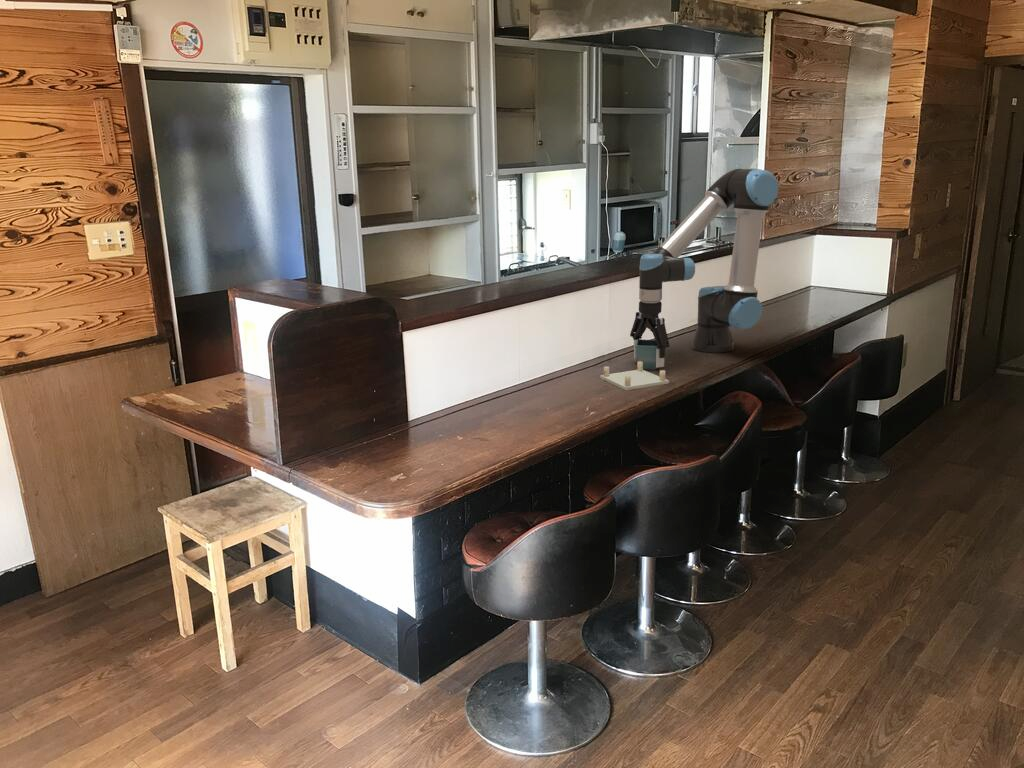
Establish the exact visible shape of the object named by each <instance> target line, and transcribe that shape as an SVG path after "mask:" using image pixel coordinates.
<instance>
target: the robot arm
mask: <svg viewBox="0 0 1024 768" xmlns="http://www.w3.org/2000/svg"><path fill="white" fill-rule="evenodd" d="M778 195H779V183H778V180H777V178H776V177H775V174H773V173H772V172H771V171H770V170H765V169H760V168H757V169H753V168H752V169H751V168H735V169H732V170H729V171H727V172H726V173H725V174H723V175H722V176H720V177H719V178H718V179H717V180H715V182H713V184H712V185H710V187H709V188H708V189H706V190H705V193H704V198H703V199H702V200H701V201H700V202H699V203H698V204H697V205H696V206H695V207H694V208H693V209H692V211H691V212H690V213H689V214H687V216H686V217H685V218H684V219H683V220H682V222H680V224H679V225H678V226H677V227H676V228H674V230H673V231H672V232H671V233H670V234H669V235H668V236H667V238H665V240H664V241H663V242H662V243H661V244H660V245H659V246H658V247H657V249H656V250H655V251H654V252H648V253H645V254H642V255H641V257H640V261H639V268H638V269H639V286H638V287H639V292H638V294H639V297H638V299H639V302H638V311H637V312H635V318H634V320H633V321H634V322H633V324H632V327H631V330H630V333H629V336H630V337H632V339H633V358H634V360H635V359H636V360H637V356H636V342H637V340H643V339H642V338H643V335H644V333H645V332H646V331H647V330H646V329H648V330H649V331H650V332H651V333H652V335H653V337H654V340H656V343H657V345H658V347H657V350H656V367H657V368H663V367H665V356H666V349H667V348H670V341H669V337H668V334H667V330H666V324H665V321H666V319H665V318H664V317H660V318H659V315H660V314H661V312H662V305H663V304H662V303H663V302H661V301H662V300H663V283H666V282H667V283H670V282H678V281H679V282H680V281H682V282H685V281H689V280H692V279H693V278H694V276H695V275H696V264H695V262H694V261H693V259H692V258H690V257H680V256H681V255H682V254H683V253H684V252H685V251H686V250H687V249H688V247H689V246H690V245H691V244H692V243H693V242H694V241H695V240H696V239H697V238H698V237H699V236H700V234H701V233H703V231H705V229H706V228H707V227H708V226H709V225H710V224H711V222H712V221H714V220H715V218H716V217H718V215H719V214H720V213H721V212H726V211H727V209H729V207H731V206H733V210H734V212H735V213H736V221H735V222H736V223H735V230H734V239H733V246H732V247H733V248H732V253H731V262H730V263H731V264H730V271H729V279H728V284H727V285H714V286H705V287H701V288H700V289H699V290H698V296H697V301H698V302H697V327H696V329H695V333H694V336H693V339H692V340H691V349H692V350H694V351H698V352H703V353H714V354H715V353H726V352H727V353H728V352H731V351H733V350H734V348H735V347H734V345H735V343H734V339H733V336H732V331H731V327H732V329H733V328H734V329H740V330H747V329H751V327H753V326H755V325H756V324H757V323H758V321H759V320H760V319H761V316H762V314H763V305H762V303H761V301H760V300H759V299H758V293H759V291H758V289H757V288H756V286H755V280H756V273H757V266H758V259H759V258H758V257H759V251H760V250H759V249H760V243H761V236H762V235H761V234H762V229H763V228H762V226H763V219H764V216H765V215H766V214H767V213H769V210H770V205H771V204H773V203H774V202H775V200H776V199H777V197H778Z"/></svg>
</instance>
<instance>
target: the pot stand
mask: <svg viewBox="0 0 1024 768" xmlns="http://www.w3.org/2000/svg"><path fill="white" fill-rule="evenodd" d="M636 363H637V364H636V365H637V366H636V367H637V368H636V369H635V370H628V371H627V370H626V371H621V372H614V373H610V366H608V365H607V366H605V365H604V366H603V374H601V375H599V379H601V380H603V381H605V382H607V383H609V384H611V385H613V386H616V387H617V388H620V389H621V390H625V391H631V390H638V389H644V388H650V387H656V386H657V387H658V386H663V385H667V384H669V383H670V380H668V379H667V378H666V370H665V369H663V370H662V369H660V370H659V375H656V374H654V373H652V372H649V371H648V370H647V371H646V369H643V362H642V361H638V362H636Z"/></svg>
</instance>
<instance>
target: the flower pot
mask: <svg viewBox="0 0 1024 768" xmlns="http://www.w3.org/2000/svg"><path fill="white" fill-rule="evenodd" d="M657 347H658V345H657V343H656V340H655V339H642V340H637V342H636V356H637V359H636V361H637V362H638V361H642V362H643V370H654V371H655V370H657V367H656V350H657ZM637 362H636V363H637Z"/></svg>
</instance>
